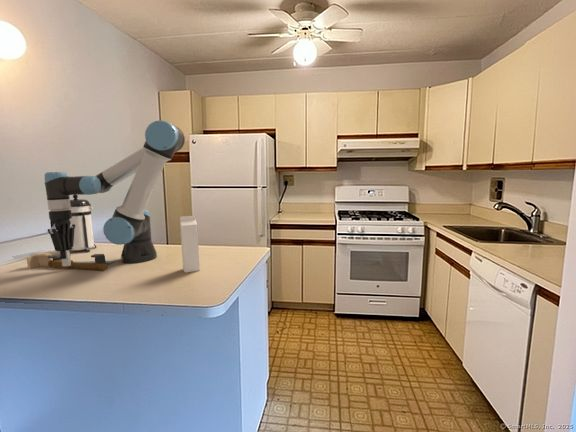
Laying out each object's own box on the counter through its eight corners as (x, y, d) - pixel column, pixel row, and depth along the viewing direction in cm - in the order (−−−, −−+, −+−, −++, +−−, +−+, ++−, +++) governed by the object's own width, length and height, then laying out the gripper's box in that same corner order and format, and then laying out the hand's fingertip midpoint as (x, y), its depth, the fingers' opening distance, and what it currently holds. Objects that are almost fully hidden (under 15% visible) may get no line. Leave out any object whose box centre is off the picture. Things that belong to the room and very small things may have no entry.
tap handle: (101, 264, 128) (45, 260, 136) (102, 271, 128) (46, 267, 136) (107, 262, 131) (52, 259, 139) (108, 269, 131) (53, 265, 139)
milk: (200, 270, 126) (196, 216, 123) (184, 272, 123) (180, 217, 120) (197, 266, 131) (194, 214, 128) (182, 268, 129) (179, 215, 126)
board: (113, 262, 142) (112, 249, 141) (102, 267, 133) (100, 254, 133) (42, 263, 143) (41, 251, 142) (26, 269, 134) (25, 255, 134)
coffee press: (89, 246, 178) (83, 193, 174) (102, 249, 168) (97, 193, 165) (53, 252, 164) (46, 195, 160) (65, 256, 155) (58, 196, 151)
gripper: (62, 208, 135) (68, 261, 138) (38, 212, 122) (45, 270, 125) (79, 208, 135) (85, 261, 138) (57, 211, 122) (64, 270, 125)
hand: (66, 265), depth 131 cm, fingers closed
